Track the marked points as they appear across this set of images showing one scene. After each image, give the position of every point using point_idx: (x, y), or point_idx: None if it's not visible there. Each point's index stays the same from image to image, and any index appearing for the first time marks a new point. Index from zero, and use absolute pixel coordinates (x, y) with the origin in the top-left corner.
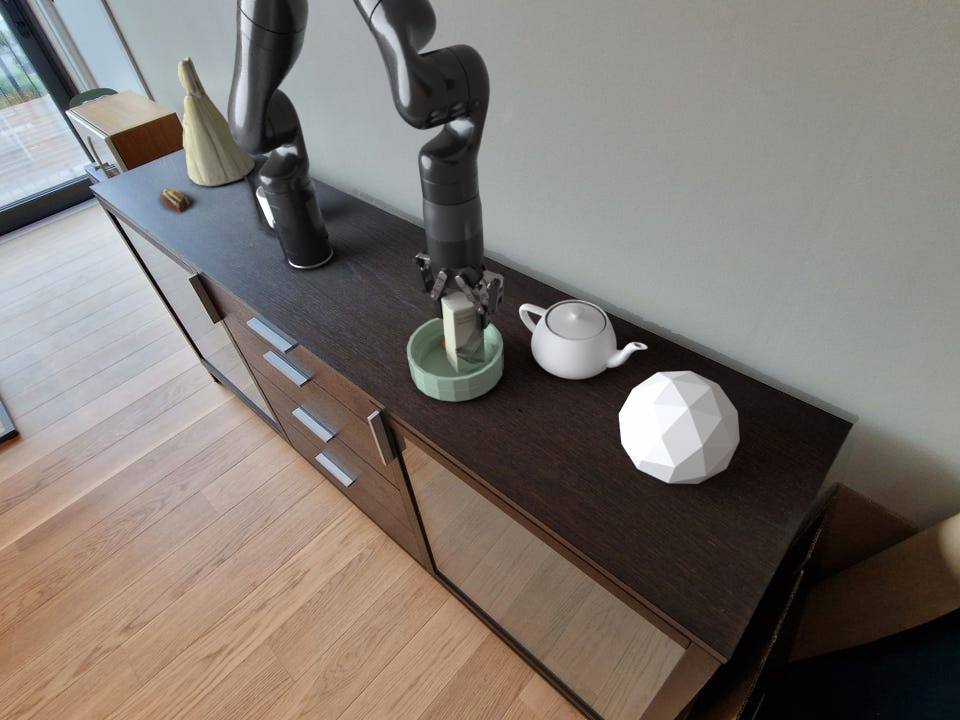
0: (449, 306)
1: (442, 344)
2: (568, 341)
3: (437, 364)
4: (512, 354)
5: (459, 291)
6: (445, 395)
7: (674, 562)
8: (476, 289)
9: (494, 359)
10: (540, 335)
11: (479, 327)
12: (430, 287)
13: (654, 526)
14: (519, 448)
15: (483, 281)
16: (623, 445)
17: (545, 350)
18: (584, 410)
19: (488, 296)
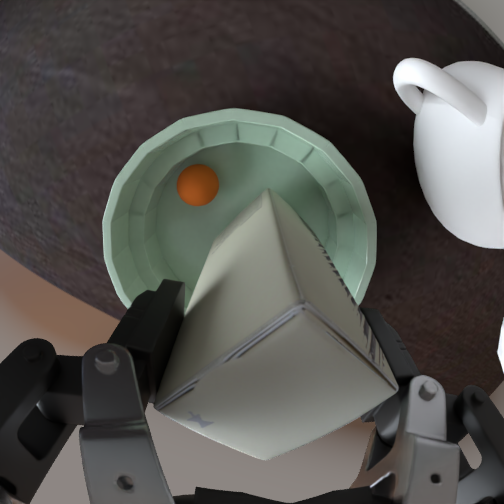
0: (233, 447)
1: (180, 197)
2: None
3: (192, 237)
4: (357, 151)
5: (234, 367)
6: None
7: (481, 383)
8: (394, 480)
9: (361, 286)
10: (473, 202)
11: None
12: (77, 422)
13: (482, 368)
14: None
15: (456, 481)
16: (502, 367)
17: (469, 230)
18: (472, 267)
19: (444, 418)
